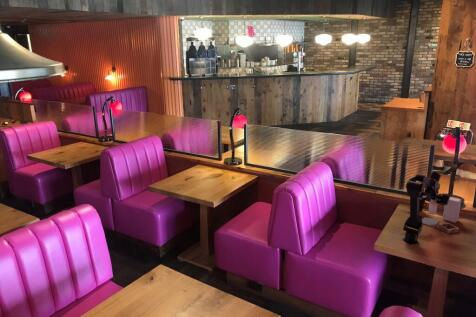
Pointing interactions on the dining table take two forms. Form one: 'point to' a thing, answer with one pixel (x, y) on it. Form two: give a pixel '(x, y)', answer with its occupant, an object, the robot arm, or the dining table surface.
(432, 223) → the grey mat
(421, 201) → the coffee mug
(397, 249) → the dining table surface
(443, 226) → the walnut pocket
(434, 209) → the cream shaker
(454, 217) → the skincare box
